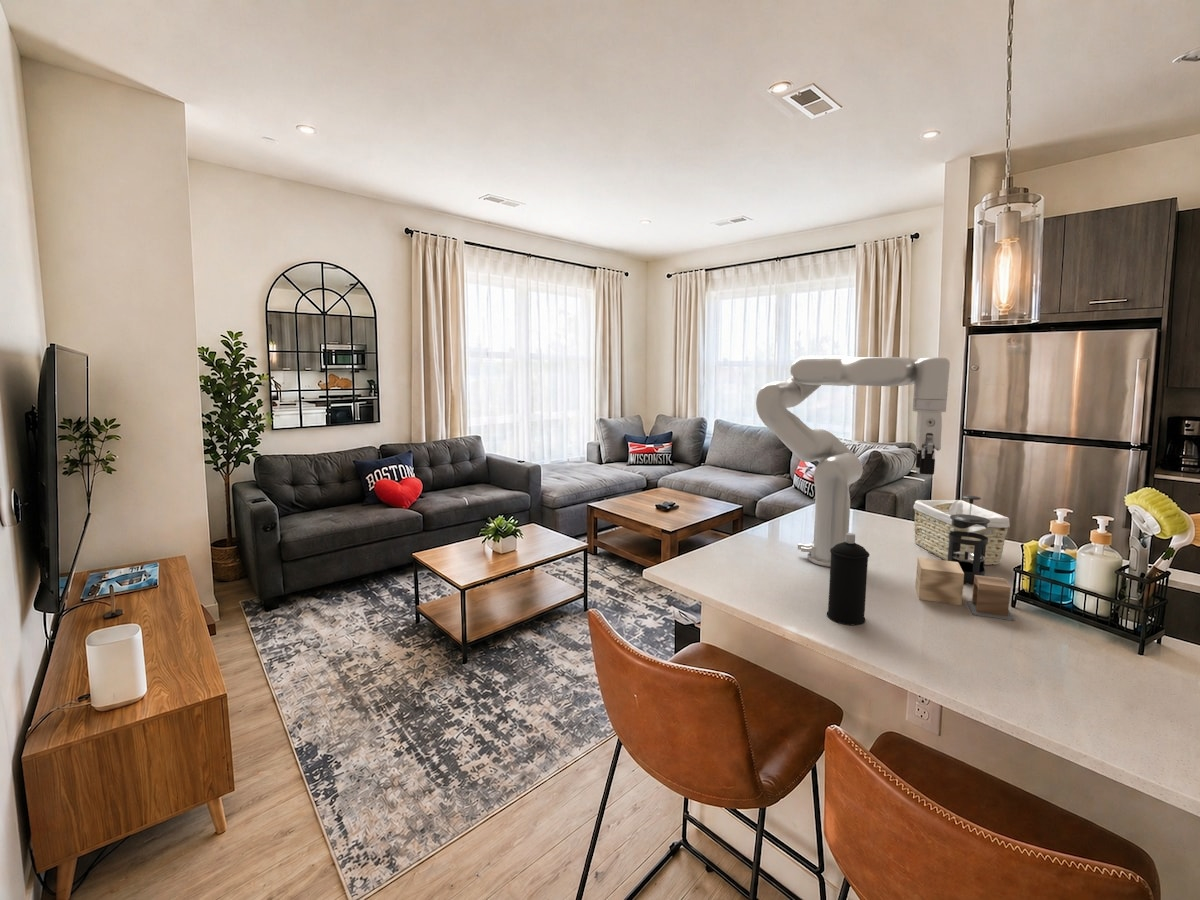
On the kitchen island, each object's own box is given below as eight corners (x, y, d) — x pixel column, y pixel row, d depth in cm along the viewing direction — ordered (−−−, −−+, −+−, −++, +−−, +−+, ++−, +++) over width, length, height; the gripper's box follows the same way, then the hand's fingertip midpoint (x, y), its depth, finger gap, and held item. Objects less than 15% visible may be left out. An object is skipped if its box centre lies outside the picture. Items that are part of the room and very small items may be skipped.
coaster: (972, 614, 129) (972, 613, 129) (966, 601, 136) (966, 600, 136) (1014, 620, 126) (1014, 619, 126) (1005, 607, 133) (1006, 605, 133)
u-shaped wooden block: (1007, 616, 127) (1010, 587, 126) (976, 611, 130) (979, 583, 129) (1001, 606, 132) (1004, 578, 131) (972, 602, 135) (974, 574, 134)
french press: (995, 585, 146) (1003, 500, 143) (958, 585, 146) (966, 500, 143) (967, 569, 158) (974, 491, 154) (933, 569, 158) (940, 491, 155)
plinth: (918, 599, 138) (921, 568, 137) (915, 586, 146) (917, 557, 145) (961, 605, 134) (964, 573, 133) (955, 591, 142) (958, 562, 141)
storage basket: (908, 542, 184) (911, 498, 182) (958, 542, 183) (962, 498, 181) (950, 567, 160) (954, 517, 158) (1008, 567, 160) (1013, 518, 158)
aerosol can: (862, 628, 122) (868, 541, 120) (823, 620, 127) (827, 535, 124) (867, 614, 129) (872, 532, 127) (829, 607, 134) (834, 527, 131)
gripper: (951, 408, 134) (945, 477, 136) (941, 404, 149) (936, 466, 152) (915, 407, 137) (911, 475, 139) (910, 403, 152) (905, 464, 155)
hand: (924, 470), depth 146 cm, fingers open, 9 cm apart
